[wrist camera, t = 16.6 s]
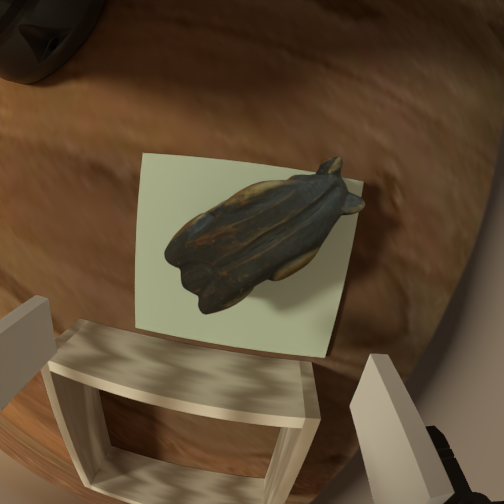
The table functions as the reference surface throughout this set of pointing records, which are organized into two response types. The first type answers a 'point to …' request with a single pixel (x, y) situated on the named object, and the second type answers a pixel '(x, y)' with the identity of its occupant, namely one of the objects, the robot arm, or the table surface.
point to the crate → (182, 399)
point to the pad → (264, 294)
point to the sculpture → (259, 235)
